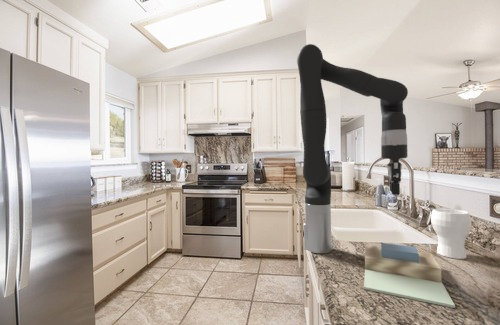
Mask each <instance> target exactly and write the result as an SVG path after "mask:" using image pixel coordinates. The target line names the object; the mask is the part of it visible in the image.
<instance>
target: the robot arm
mask: <svg viewBox="0 0 500 325" xmlns="http://www.w3.org/2000/svg"><path fill="white" fill-rule="evenodd" d="M296 64H297V68H298V74H299V80H300V82H299V83H300V94H299V95H300V100H299V101H300V102H299V103H300V107H299V108H300V125H301V136H302V142H303V166H302V176H303V178H304V180H305V183H306V184H305V185H306V190H305V195H304V210H305V211H304V214H305V215H304V218H305V219H304V220H305V222H304V223H303V245H304V246H303V247H304V248H303V249H304V250H305V251H309V252H311V253H314V254H328V253H330V252H332V222H331V221H332V209H331V208H332V206H331V204H332V203H331V201H332V200H331V199H332V198H331V197H332V173H331V167H330V166H329V165H328V163H327V159H326V152H325V151H326V150H325V142H326V136H327V106H326V100H325V95H324V89H323V84H322V81H325V82H326V81H327V82H329V83H332V84H335V85H337V86H340V87H343V88H345V89H347V90H348V91H349V90H350V91H352V92H354V93H357V94H359V95H361V96H364V97H374V98H377V99H379V102H380V105H379V106H380V111H381V113H380V115H381V139H380V145H381V146H380V148H381V149H380V150H381V151H380V153H381V154H380V155H381V158H382V159H385V160H386V159H388V160H389V162H388V163H387V165H386V168H387V176H388V178H389V179H388V180H389V191H390V192H391V194H392V195H394V196H399V195H400V193H401V192H400V190H401V189H400V184H401V183H402V182H401V181H402V168H403V166H402V163H401V162H400V159H407V158H408V134H407V119H406V118H407V117H406V114H405V113H404V101H405V100H406V99H407V96H408V93H409V90H408V88H407V87H406V85H404V84H403V83H402V82H400V81H397V80H393V79H389V78H386V77H385V78H383V77H378V76H376V75H374V74H370V73H369V72H365V71H362V70H360V69H356V68H352V67H344V66H339V65H335V64H332V63H331V62H329V61H327V60H326V59H324V57H323V52H322V51H321V49H320V48H319V47H318V46H317V45H316V44H312V43H308V44H305V45H304V46H302V47H301V49H300V50H299V52H298V54H297V58H296Z"/></svg>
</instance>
